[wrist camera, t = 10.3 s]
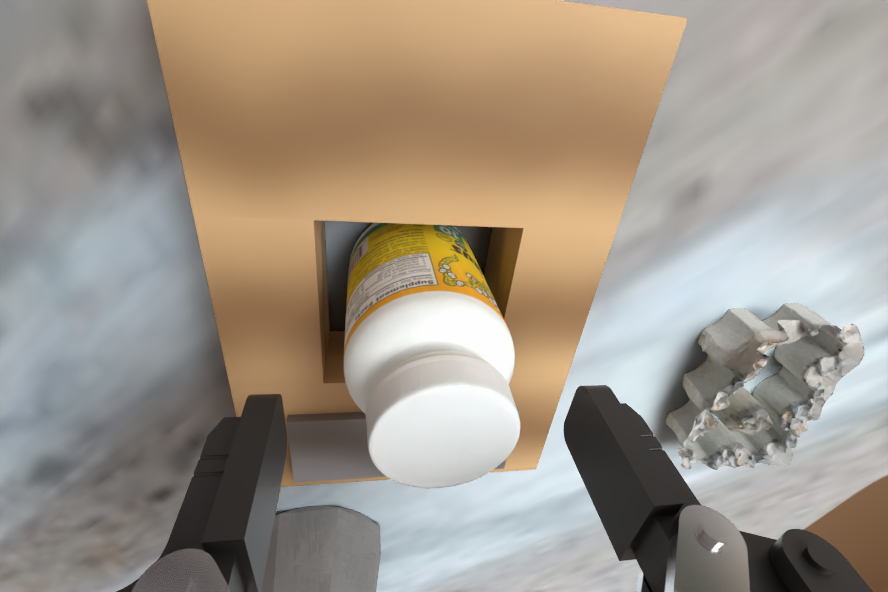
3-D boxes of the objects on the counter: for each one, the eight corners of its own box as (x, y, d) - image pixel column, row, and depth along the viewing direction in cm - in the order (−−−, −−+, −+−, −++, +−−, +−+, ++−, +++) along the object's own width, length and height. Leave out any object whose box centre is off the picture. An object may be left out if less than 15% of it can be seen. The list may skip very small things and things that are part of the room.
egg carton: (707, 300, 23) (766, 347, 20) (826, 295, 24) (901, 340, 21) (647, 435, 29) (685, 490, 25) (746, 426, 30) (795, 478, 27)
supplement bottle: (327, 235, 18) (295, 411, 10) (449, 187, 17) (521, 328, 9) (380, 330, 21) (389, 526, 13) (485, 291, 20) (562, 465, 12)
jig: (188, -41, 13) (125, -62, 9) (625, 18, 15) (696, 18, 12) (266, 429, 23) (249, 496, 20) (516, 417, 26) (538, 475, 22)
